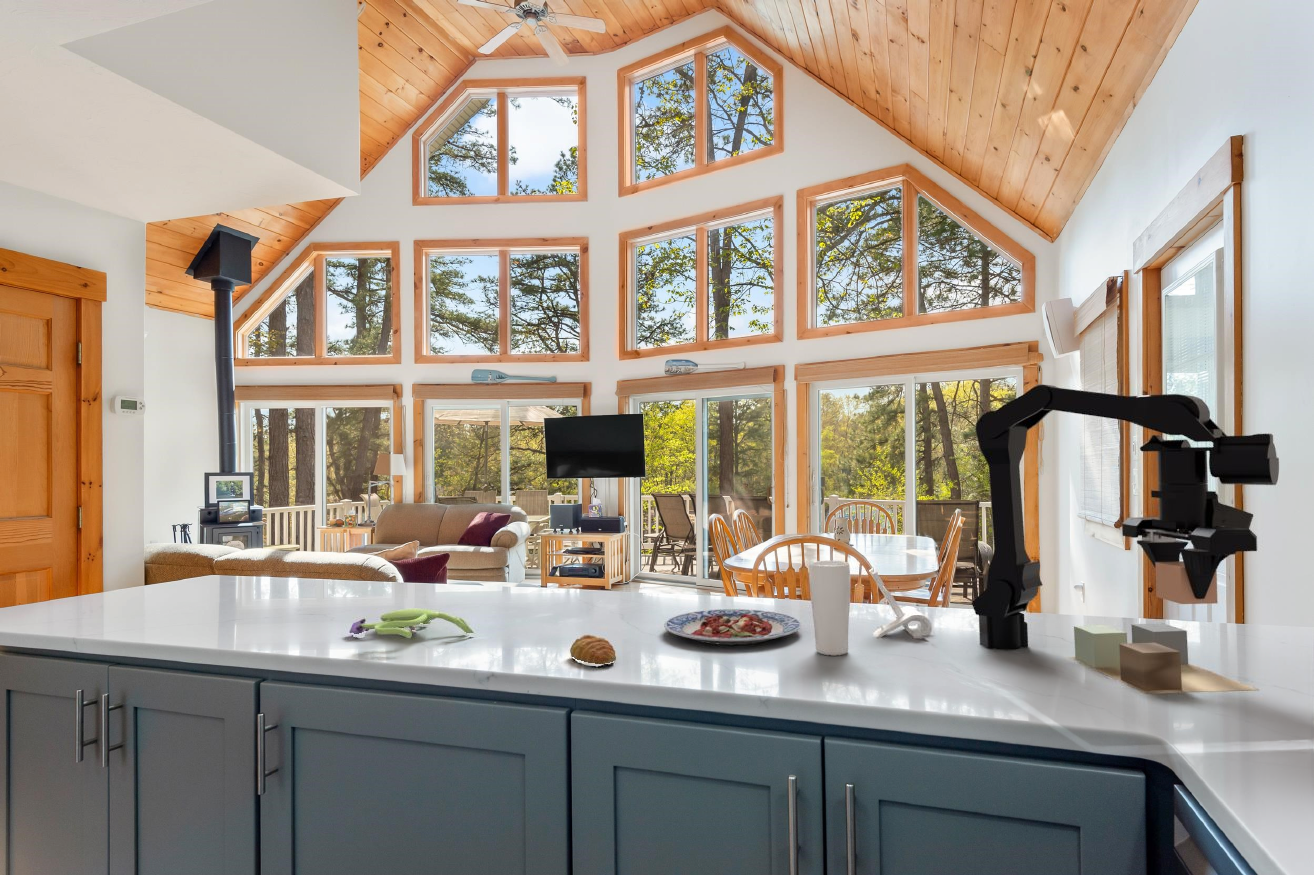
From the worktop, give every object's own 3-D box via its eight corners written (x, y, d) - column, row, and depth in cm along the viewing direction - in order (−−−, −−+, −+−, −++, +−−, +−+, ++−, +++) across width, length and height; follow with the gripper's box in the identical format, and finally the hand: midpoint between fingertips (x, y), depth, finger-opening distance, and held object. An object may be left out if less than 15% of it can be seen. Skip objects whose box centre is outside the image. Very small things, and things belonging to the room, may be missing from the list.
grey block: (1155, 665, 110) (1153, 631, 110) (1132, 656, 115) (1131, 624, 115) (1188, 664, 110) (1186, 630, 110) (1164, 655, 115) (1163, 623, 115)
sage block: (1094, 667, 110) (1093, 633, 110) (1075, 658, 115) (1073, 626, 115) (1128, 666, 110) (1126, 632, 110) (1107, 657, 115) (1105, 625, 115)
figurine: (386, 660, 129) (385, 628, 129) (336, 635, 150) (336, 607, 150) (483, 642, 141) (482, 612, 141) (425, 621, 162) (424, 595, 162)
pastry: (626, 665, 122) (625, 642, 122) (588, 673, 118) (588, 648, 118) (601, 653, 130) (601, 631, 130) (565, 659, 126) (565, 637, 126)
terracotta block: (1181, 604, 102) (1180, 567, 102) (1156, 596, 107) (1155, 562, 107) (1217, 603, 102) (1216, 566, 102) (1190, 596, 107) (1189, 561, 107)
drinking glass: (854, 658, 121) (850, 566, 122) (811, 657, 123) (808, 566, 123) (851, 647, 128) (848, 560, 128) (811, 647, 129) (808, 560, 130)
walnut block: (1144, 690, 99) (1143, 653, 99) (1120, 679, 104) (1119, 643, 104) (1182, 689, 99) (1180, 651, 99) (1156, 678, 104) (1154, 642, 104)
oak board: (1146, 699, 98) (1146, 693, 98) (1068, 662, 116) (1068, 657, 116) (1258, 695, 98) (1258, 689, 98) (1163, 659, 116) (1163, 654, 116)
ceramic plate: (672, 619, 156) (672, 605, 156) (797, 620, 152) (797, 605, 152) (655, 651, 130) (655, 634, 130) (805, 653, 126) (804, 635, 127)
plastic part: (931, 639, 133) (930, 573, 134) (875, 638, 134) (873, 573, 135) (922, 629, 141) (920, 567, 141) (868, 628, 142) (867, 567, 142)
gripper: (1297, 485, 95) (1301, 608, 95) (1190, 480, 114) (1193, 582, 114) (1211, 487, 95) (1215, 609, 95) (1118, 481, 114) (1121, 583, 114)
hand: (1185, 595), depth 104 cm, fingers closed on terracotta block, 5 cm apart
